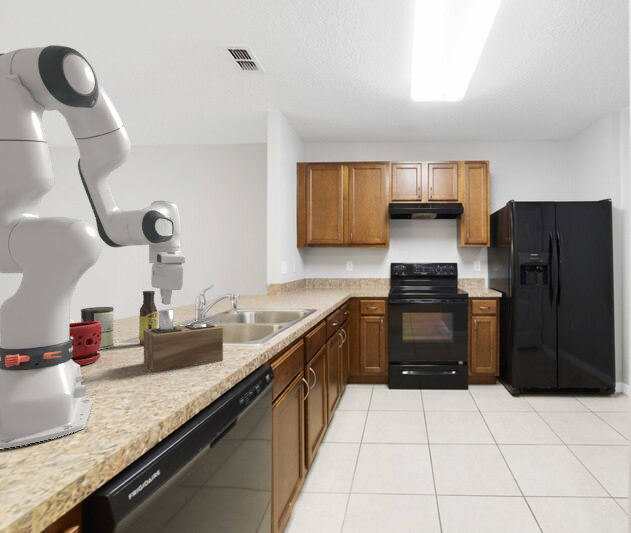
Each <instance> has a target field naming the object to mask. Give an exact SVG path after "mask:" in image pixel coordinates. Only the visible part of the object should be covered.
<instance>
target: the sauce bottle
mask: <svg viewBox="0 0 631 533" xmlns="http://www.w3.org/2000/svg"><path fill="white" fill-rule="evenodd" d="M155 294H156V293H155V290H142V295H143V298H142V299H143V300H142V305H141V306H140V308H139V326H138V330H139V331H138V334H139V338H138V339H139V344H140V345H142V346H144V330H148V329H157V328H159V311H158V309H157V306H156V304H155Z"/></svg>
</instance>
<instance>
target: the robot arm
mask: <svg viewBox="0 0 631 533" xmlns="http://www.w3.org/2000/svg"><path fill="white" fill-rule="evenodd" d="M44 111H48V112H50V111H58V113H60V114H61V115H62V116H63V118H64V119H65V121H66V123H67V126H68V127H69V130H70V132H71V134H72V136H73V138H74V140H75V142H76V145H77V148H78V151H79V159H78V162H77V169H78V174H79V177H80V180H81V182H82V186H83V188H84V191H85V193H86V196H87V198H88V199H87V200H88V201H89V204H90V206H91V209H92V212H93V215H94V218H95V222H96V227H97V228H96V227H95V226H94V225H93V224H91V223H90V222H89V221H86V220H81V219H76V218H71V217H65V216H50V217H49V216H48V217H47V216H44V217H42V216H41V217H40V207H41V203H42V200H43V198H44V196H45V195H46V194H48V193H49V192H50V191H52V189H53V188H54V186H55V183H56V178H55V174H54V173H55V172H54V169H53V163H52V158H51V153H50V149H49V148H50V147H49V143H48V138H47V135H46V130H45V126H44V123H43V114H44ZM131 151H132V144H131V140H130V136H129V134H128V132H127V129H126V128H125V125H124V123H123V121H122V118H121V116H120V114H119V112H118V110H117V109H116V107H115V105H114V103H113V101H112V99H111V98H110V96H109V94H108V93H107V92H106V90H105V89H104V87H103V86H102V85H101V84H100V83H99V82H98V78H97V75H96V72H95V70H94V68H93V67H92V65H91V64H90V62H89V61H88V59H87V58H86V57H84V55H83V54H81V53H80V51H78V50H76V49H74V48H72V47H69V46H65V45H57V44H56V45H48V46H45V47H44V46H43V47H40V46H39V47H22V48H18V49H14V50H12V51H11V50H10V51H7V52H6V53H0V273H1V274H22V279H21V282H20V285H19V286H18V289H17V290H16V292H15V293H14V294H13V295H12V296H10V297H8V298H7V299H6V300H4V302H2V304H1V305H0V448H7V447H15V448H17V447H16V446H20V447H22V446H21V445H25V446H27V445H26V444H30V443H35V442H39V443H41V442H40V441H43V440H47V441H49V440H48V439H51V440H54V438H55V439H58V438H60V437H61V436H62V437H65V436H67V434H68V435H71V434H73V432H74V433H76V432H79V431H80V430H83V429H85V428H86V426H87V423H88V420H89V417H90V412H91V409H92V407H93V399H92V397H86V384H81V382H84V374H81V365H78V364H77V363H75V362H74V361H73V360H72V359H71V358H72V350H73V345H72V340H71V339H72V338H71V339H69V323H70V318H71V317H70V314H71V313H70V312H71V303H72V297H73V295H74V292H75V289H76V287H77V285H78V283H79V282H80V280H81V278H82V277H83V275H84V274H85V273H86V272H87V271H88V270H89V269H90V268H92V267H93V266H94V265H95V264H96V263H97V262H98V261H99V258H100V256H101V253H102V250H103V249H102V247H103V246H102V244H103V243H102V241H103V242H104V243H105V244H106V245H107V246H109V247H111V248H123V247H128V246H131V247H132V246H147V245H148V258H149V259H148V262H149V264H152V265H151V280H150V283H151V287H152V288H154V289H159V294H160V299H161V304H162V305H166V306H167V305H171V303H172V302H171V300H172V295H173V291H180V290H182V288H183V284H184V264H185V263H186V256H185V255H184V254H183V252H182V245H181V241H180V240H181V239H180V238H181V234H182V229H181V228H182V227H181V226H182V225H181V224H182V223H181V216H180V211H179V207H178V205H176V204H174V203H173V202H170V201H165V200H155V201H152V202H151V203H150V205H149V206H147V207H146V208H142V209H135V210H123V209H121V208H119V207H118V206H117V204H116V201H115V198H114V196H113V192H112V189H111V186H110V182H109V176H110V174H111V173H113V172H114V171H115V170H117V169H118V168H119V167H121V166H122V165H123V164H125V163H126V161H128V158H129V157H130V154H131ZM91 406H92V407H91ZM87 419H88V420H87ZM70 433H71V434H70ZM64 435H65V436H64ZM57 437H58V438H57ZM43 442H44V441H43ZM35 444H36V443H35ZM30 445H31V444H30Z"/></svg>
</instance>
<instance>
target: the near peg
mask: <svg viewBox="0 0 631 533" xmlns="http://www.w3.org/2000/svg"><path fill="white" fill-rule="evenodd" d="M174 324H175V323H174V309H160V310H158V328H159V331H169V330H174V327H175V326H174Z"/></svg>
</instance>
